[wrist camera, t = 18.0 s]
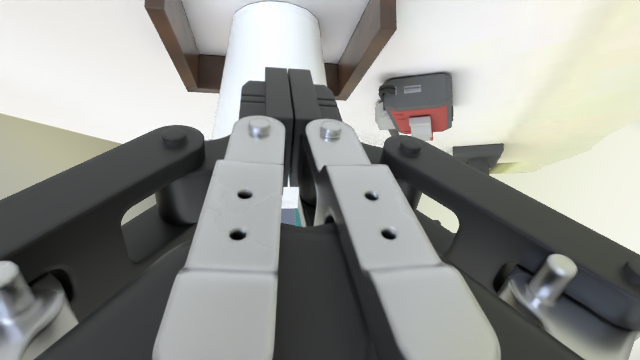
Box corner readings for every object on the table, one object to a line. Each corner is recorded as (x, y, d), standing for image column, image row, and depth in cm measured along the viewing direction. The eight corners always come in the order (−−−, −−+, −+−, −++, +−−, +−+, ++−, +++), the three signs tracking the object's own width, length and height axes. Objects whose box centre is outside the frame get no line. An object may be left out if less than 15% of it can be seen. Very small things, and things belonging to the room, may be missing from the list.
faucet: (410, 149, 72) (413, 258, 69) (503, 143, 66) (510, 260, 64) (420, 164, 89) (422, 252, 86) (494, 160, 83) (499, 253, 81)
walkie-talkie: (358, 77, 37) (388, 127, 56) (358, 121, 37) (388, 157, 56) (453, 65, 35) (451, 122, 54) (455, 112, 34) (452, 153, 53)
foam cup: (361, 38, 30) (363, 206, 28) (266, 63, 34) (263, 209, 33) (291, -33, 22) (288, 197, 20) (180, 12, 26) (170, 202, 25)
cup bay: (147, -46, 21) (144, 7, 20) (395, -19, 23) (396, 29, 23) (189, 58, 33) (187, 91, 33) (346, 69, 36) (346, 100, 35)
